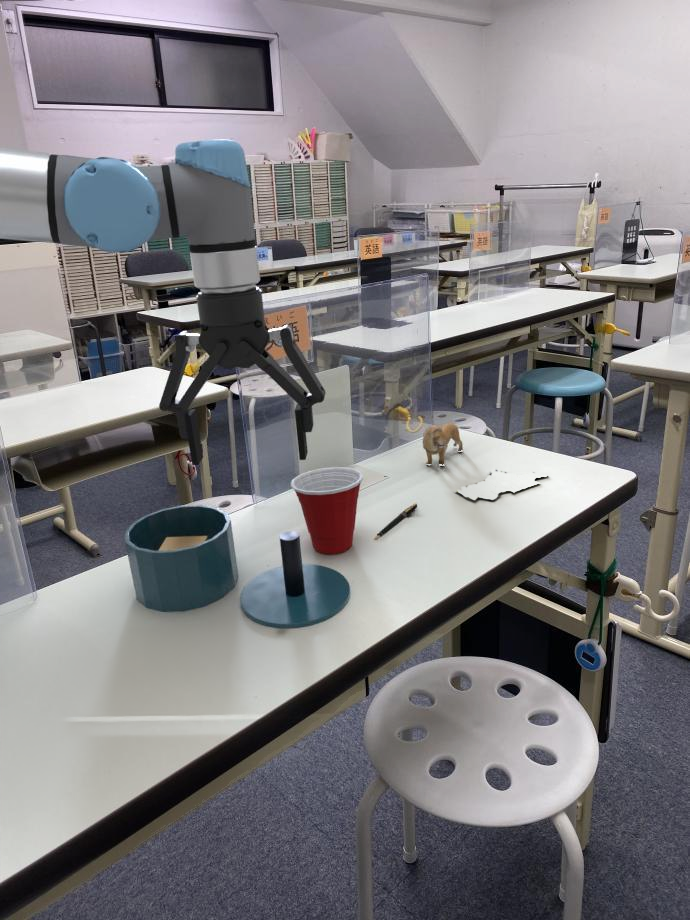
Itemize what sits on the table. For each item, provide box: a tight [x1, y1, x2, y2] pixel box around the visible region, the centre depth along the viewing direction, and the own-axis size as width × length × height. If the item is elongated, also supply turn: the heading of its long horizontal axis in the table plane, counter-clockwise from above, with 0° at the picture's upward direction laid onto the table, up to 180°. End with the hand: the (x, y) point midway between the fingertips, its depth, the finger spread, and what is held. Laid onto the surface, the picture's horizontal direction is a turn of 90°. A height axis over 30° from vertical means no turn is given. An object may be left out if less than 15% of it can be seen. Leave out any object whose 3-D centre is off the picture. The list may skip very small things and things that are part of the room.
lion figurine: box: [422, 422, 464, 465], centre depth 135 cm, size 15×5×9 cm, turn 154°
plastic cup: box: [290, 466, 364, 556], centre depth 103 cm, size 11×11×12 cm
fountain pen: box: [373, 502, 418, 541], centre depth 111 cm, size 14×1×2 cm, turn 146°
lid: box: [240, 530, 351, 629], centre depth 91 cm, size 15×15×10 cm
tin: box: [123, 504, 239, 613], centre depth 96 cm, size 14×14×10 cm
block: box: [158, 536, 208, 551], centre depth 96 cm, size 6×6×6 cm
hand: (250, 459), depth 87 cm, fingers open, 13 cm apart
